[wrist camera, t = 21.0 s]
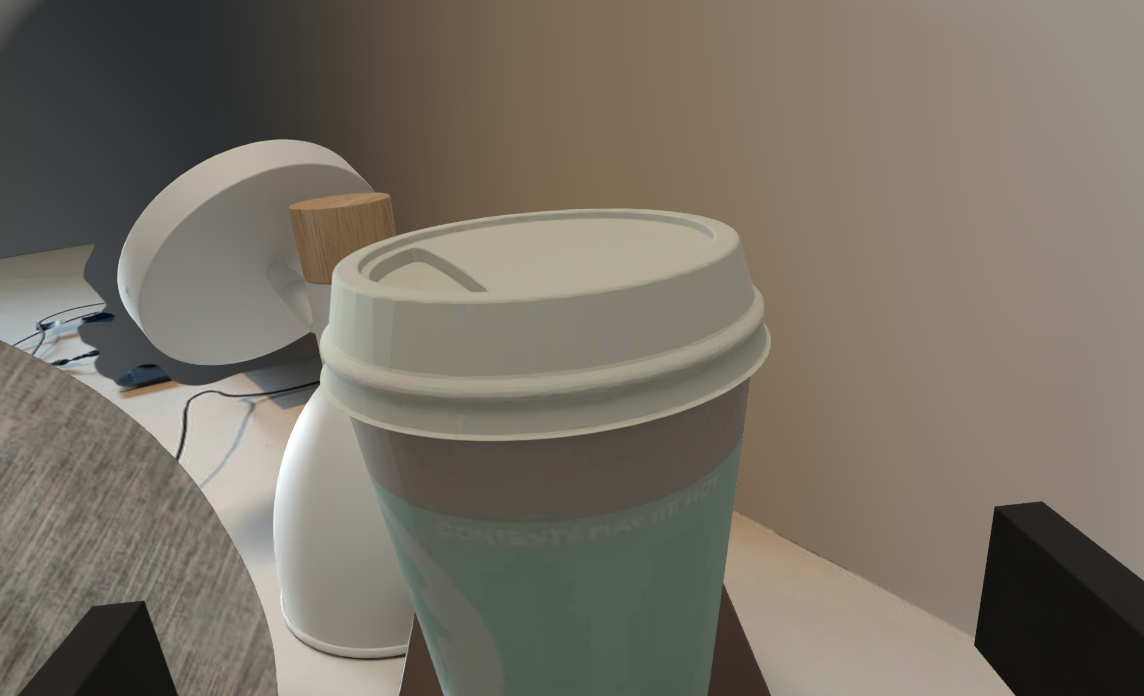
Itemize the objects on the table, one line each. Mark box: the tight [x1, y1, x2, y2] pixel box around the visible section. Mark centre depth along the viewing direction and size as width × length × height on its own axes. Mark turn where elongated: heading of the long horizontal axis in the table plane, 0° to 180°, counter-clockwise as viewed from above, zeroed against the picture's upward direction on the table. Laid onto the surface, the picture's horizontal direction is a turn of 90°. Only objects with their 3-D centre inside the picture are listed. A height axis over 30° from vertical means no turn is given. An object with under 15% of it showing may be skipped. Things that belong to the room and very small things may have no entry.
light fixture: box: [118, 140, 415, 658], centre depth 34 cm, size 13×21×20 cm
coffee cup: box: [320, 209, 771, 696], centre depth 19 cm, size 11×11×15 cm
